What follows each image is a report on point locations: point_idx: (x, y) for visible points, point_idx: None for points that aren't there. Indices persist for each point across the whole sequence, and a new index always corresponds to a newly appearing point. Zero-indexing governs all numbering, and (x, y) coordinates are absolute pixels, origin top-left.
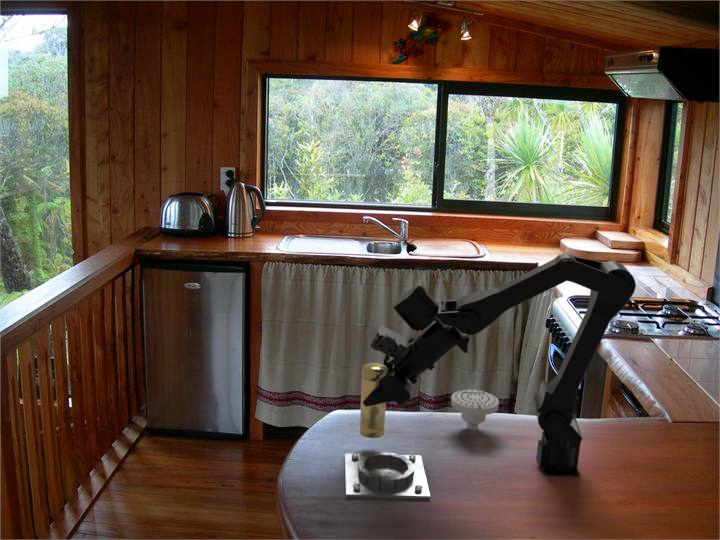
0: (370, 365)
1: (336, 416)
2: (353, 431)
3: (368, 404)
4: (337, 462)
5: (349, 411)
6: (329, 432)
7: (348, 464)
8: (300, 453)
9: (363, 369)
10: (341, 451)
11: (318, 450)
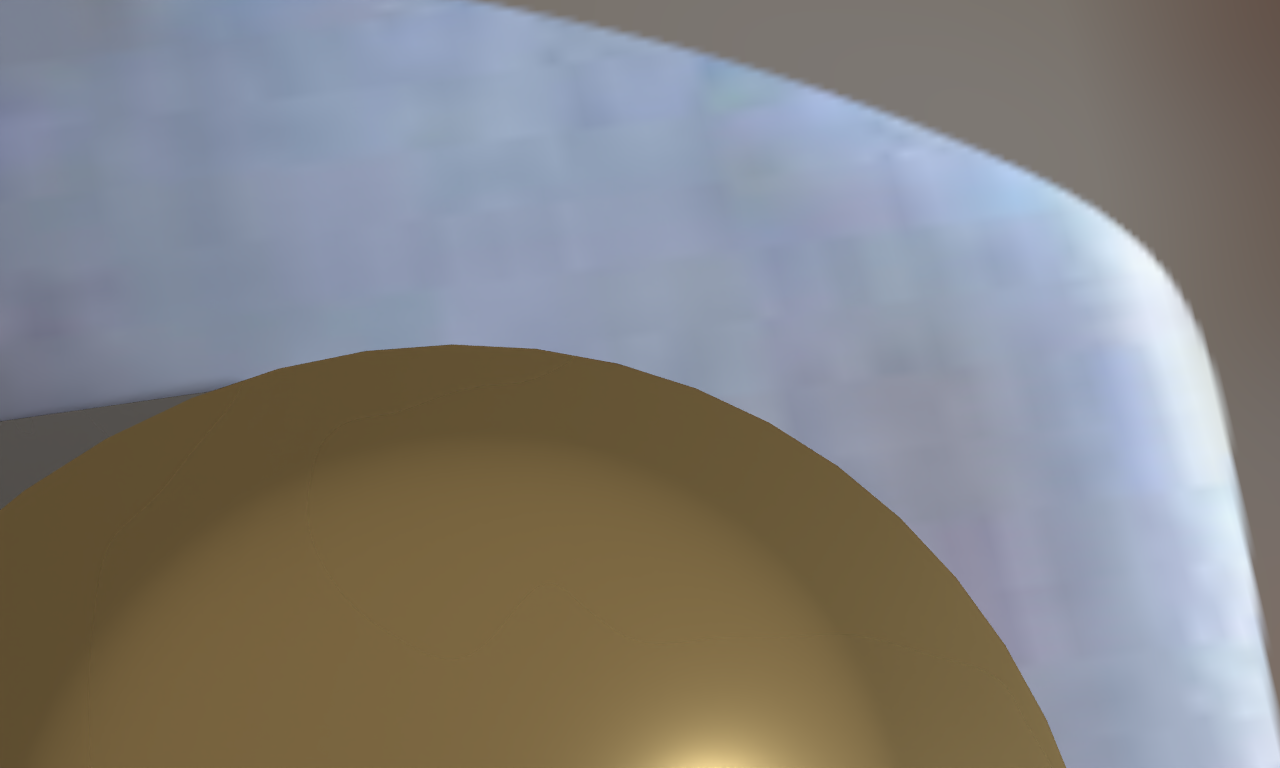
0: (705, 744)
1: (1035, 216)
2: (784, 403)
3: None
4: (149, 338)
5: (1164, 317)
6: (714, 195)
7: (41, 446)
8: (266, 3)
9: (124, 442)
10: (370, 346)
11: (351, 145)
